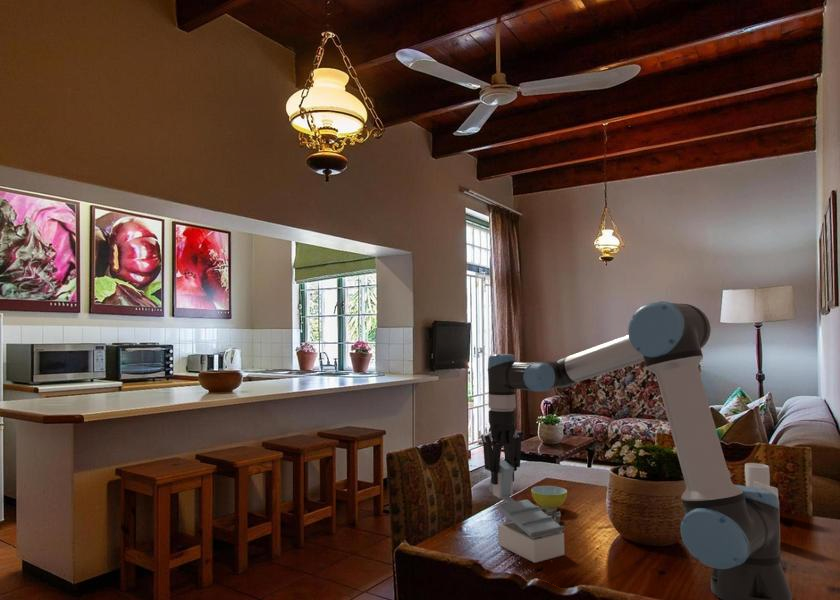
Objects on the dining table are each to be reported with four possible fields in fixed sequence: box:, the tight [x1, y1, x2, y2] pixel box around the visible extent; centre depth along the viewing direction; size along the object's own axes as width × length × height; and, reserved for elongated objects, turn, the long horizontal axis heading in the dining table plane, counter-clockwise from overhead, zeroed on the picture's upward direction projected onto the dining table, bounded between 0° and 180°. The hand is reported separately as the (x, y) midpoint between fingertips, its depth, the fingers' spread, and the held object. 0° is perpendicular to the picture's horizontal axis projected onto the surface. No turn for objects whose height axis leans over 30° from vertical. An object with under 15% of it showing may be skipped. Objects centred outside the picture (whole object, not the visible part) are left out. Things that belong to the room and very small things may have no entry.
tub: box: [497, 520, 565, 563], centre depth 148 cm, size 14×10×6 cm
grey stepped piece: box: [488, 458, 566, 538], centre depth 151 cm, size 23×11×9 cm, turn 30°
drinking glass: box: [744, 462, 771, 491], centre depth 181 cm, size 7×7×15 cm
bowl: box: [530, 485, 568, 512], centre depth 185 cm, size 11×12×6 cm
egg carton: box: [539, 506, 562, 525], centre depth 171 cm, size 11×8×4 cm
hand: (503, 494), depth 158 cm, fingers closed on grey stepped piece, 3 cm apart
